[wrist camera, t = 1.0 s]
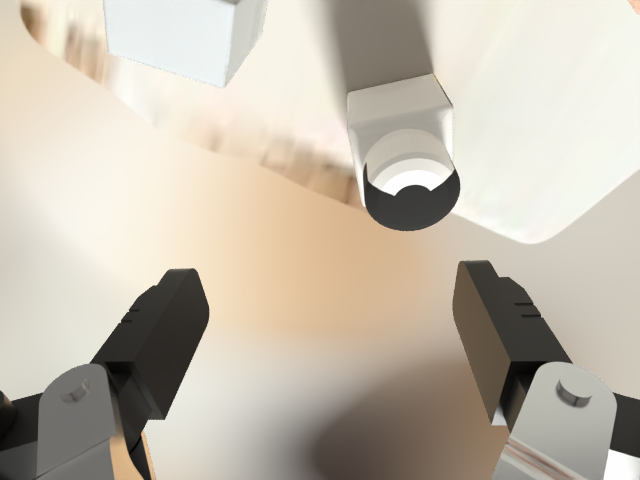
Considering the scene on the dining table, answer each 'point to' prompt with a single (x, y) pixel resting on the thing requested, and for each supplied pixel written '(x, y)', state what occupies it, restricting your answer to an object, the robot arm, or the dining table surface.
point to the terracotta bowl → (635, 5)
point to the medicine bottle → (404, 152)
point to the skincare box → (186, 35)
